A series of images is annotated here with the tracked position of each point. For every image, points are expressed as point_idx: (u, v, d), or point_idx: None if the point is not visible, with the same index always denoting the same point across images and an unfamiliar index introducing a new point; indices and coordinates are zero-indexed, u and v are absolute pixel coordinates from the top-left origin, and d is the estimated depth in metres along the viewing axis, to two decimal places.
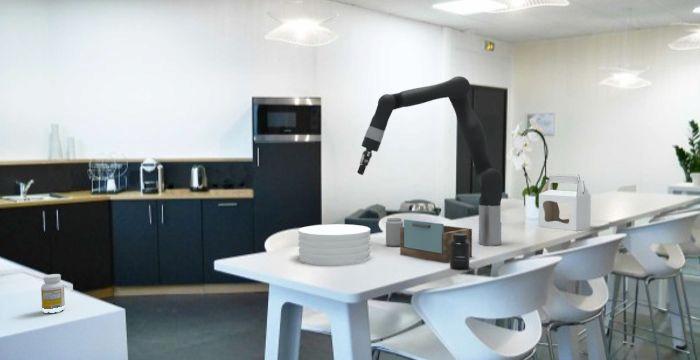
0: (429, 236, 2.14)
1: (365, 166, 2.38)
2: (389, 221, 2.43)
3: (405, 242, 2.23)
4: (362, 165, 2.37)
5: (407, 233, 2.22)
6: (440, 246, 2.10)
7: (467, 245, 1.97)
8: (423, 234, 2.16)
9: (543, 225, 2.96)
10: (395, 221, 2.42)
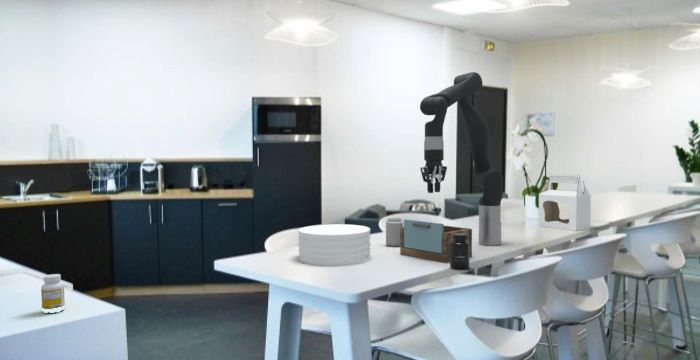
0: (429, 236, 2.14)
1: None
2: (389, 221, 2.43)
3: (405, 242, 2.23)
4: None
5: (407, 233, 2.22)
6: (440, 246, 2.10)
7: (467, 245, 1.97)
8: (423, 234, 2.16)
9: (543, 225, 2.96)
10: (395, 221, 2.42)
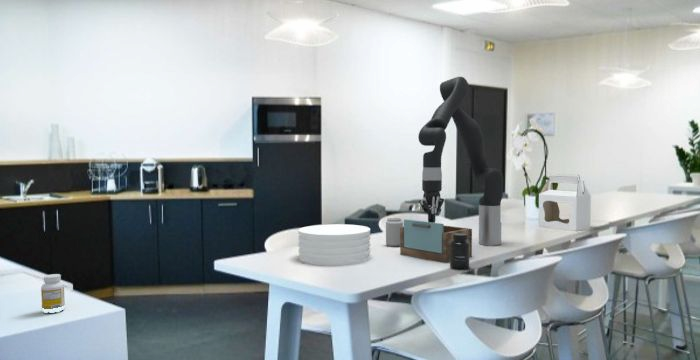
0: (429, 236, 2.14)
1: None
2: (389, 221, 2.43)
3: (405, 242, 2.23)
4: (435, 213, 2.21)
5: (407, 233, 2.22)
6: (440, 246, 2.10)
7: (467, 245, 1.97)
8: (423, 234, 2.16)
9: (543, 225, 2.96)
10: (395, 221, 2.42)
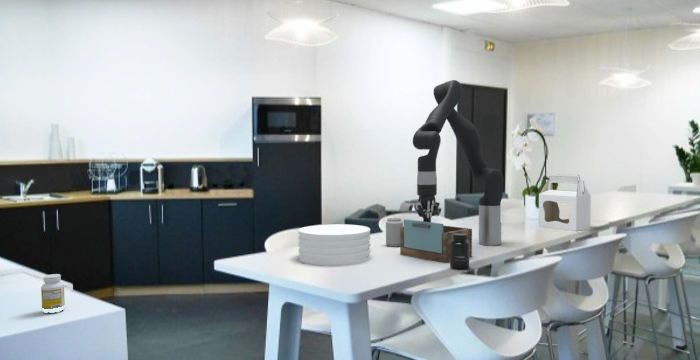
0: (429, 236, 2.14)
1: None
2: (389, 221, 2.43)
3: (405, 242, 2.23)
4: (430, 217, 2.18)
5: (407, 233, 2.22)
6: (440, 246, 2.10)
7: (467, 245, 1.97)
8: (423, 234, 2.16)
9: (543, 225, 2.96)
10: (395, 221, 2.42)
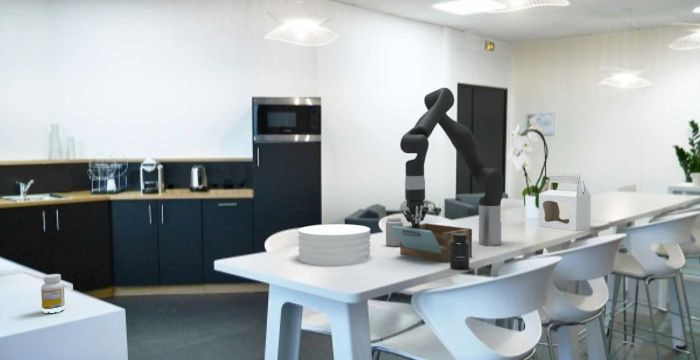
0: (423, 240, 2.11)
1: None
2: (389, 221, 2.43)
3: (403, 244, 2.22)
4: (419, 222, 2.14)
5: (401, 237, 2.19)
6: (437, 248, 2.09)
7: (467, 245, 1.97)
8: (416, 239, 2.13)
9: (543, 225, 2.96)
10: (395, 221, 2.42)
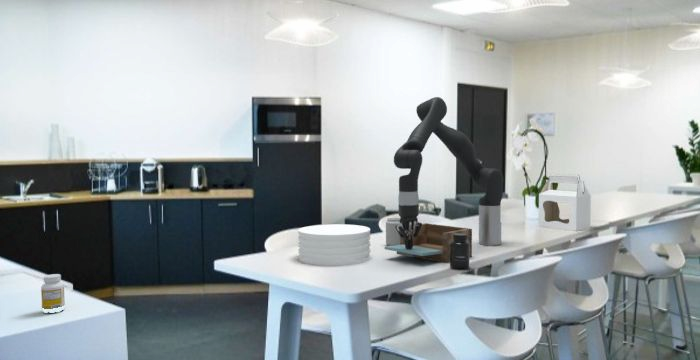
0: None
1: None
2: (389, 221, 2.43)
3: None
4: None
5: None
6: (436, 253, 2.08)
7: (467, 245, 1.97)
8: None
9: (543, 225, 2.96)
10: (395, 221, 2.42)
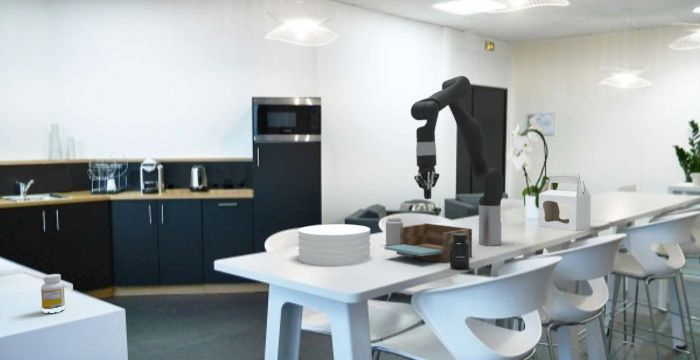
0: None
1: None
2: (389, 221, 2.43)
3: None
4: (431, 188, 2.17)
5: None
6: (436, 253, 2.08)
7: (467, 245, 1.97)
8: None
9: (543, 225, 2.96)
10: (395, 221, 2.42)
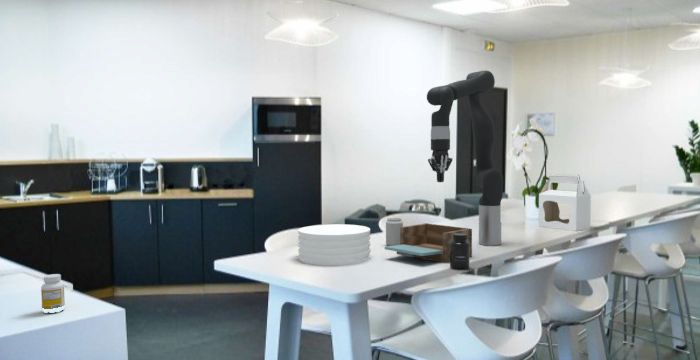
0: None
1: None
2: (389, 221, 2.43)
3: None
4: None
5: None
6: (436, 253, 2.08)
7: (467, 245, 1.97)
8: None
9: (543, 225, 2.96)
10: (395, 221, 2.42)
